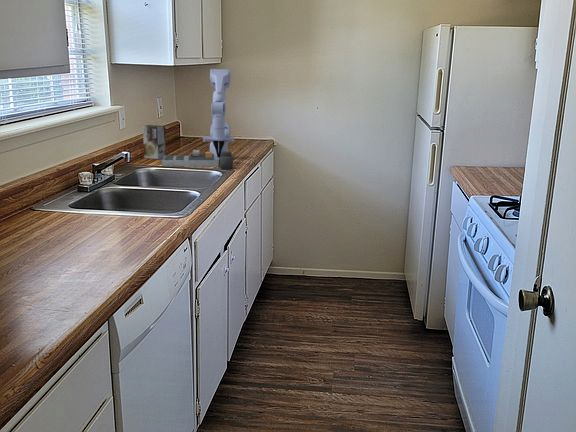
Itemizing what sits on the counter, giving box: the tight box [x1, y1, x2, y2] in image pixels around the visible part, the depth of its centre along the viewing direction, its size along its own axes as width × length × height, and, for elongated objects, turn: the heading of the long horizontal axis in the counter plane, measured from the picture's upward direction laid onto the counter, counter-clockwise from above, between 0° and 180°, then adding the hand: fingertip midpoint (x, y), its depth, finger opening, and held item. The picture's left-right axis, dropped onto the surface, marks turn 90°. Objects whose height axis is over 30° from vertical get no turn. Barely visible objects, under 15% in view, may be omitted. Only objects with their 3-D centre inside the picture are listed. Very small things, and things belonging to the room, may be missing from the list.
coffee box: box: [142, 124, 167, 160], centre depth 290 cm, size 9×6×16 cm
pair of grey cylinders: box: [219, 151, 234, 170], centre depth 275 cm, size 6×21×5 cm, turn 8°
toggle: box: [205, 151, 212, 158], centre depth 274 cm, size 3×4×3 cm
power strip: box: [161, 149, 220, 168], centre depth 276 cm, size 26×13×6 cm, turn 98°
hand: (218, 157), depth 274 cm, fingers closed
